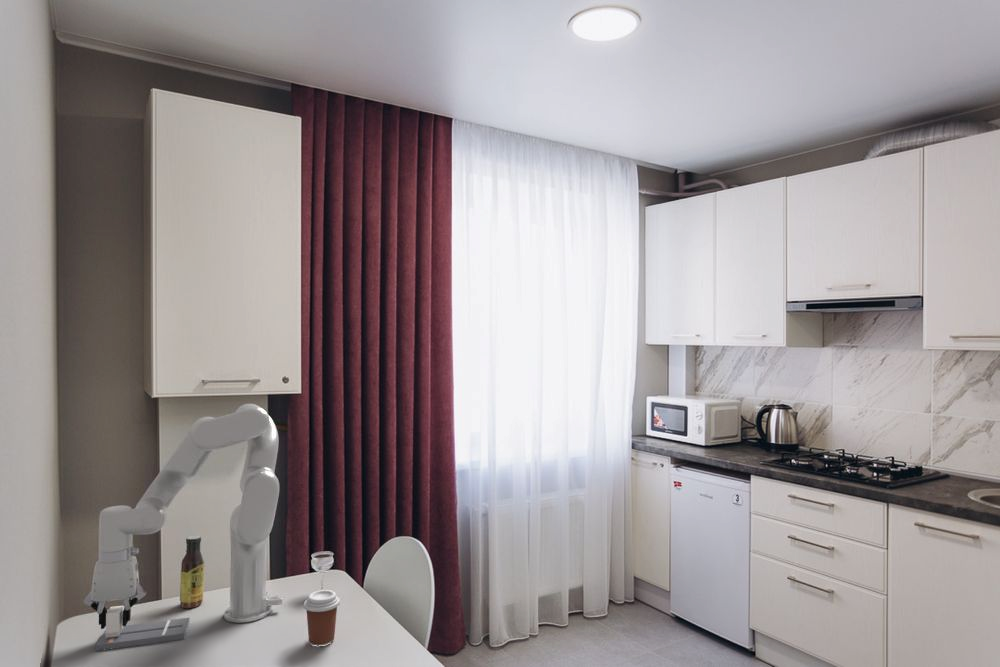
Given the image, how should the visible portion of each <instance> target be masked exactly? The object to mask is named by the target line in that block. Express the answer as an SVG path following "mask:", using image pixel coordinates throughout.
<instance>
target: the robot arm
mask: <svg viewBox="0 0 1000 667" xmlns="http://www.w3.org/2000/svg"><path fill="white" fill-rule="evenodd" d="M278 432H279V431H278V429H277V426H276V424H275V422H274V420H273V418H272V417H271V416H270V415H269V414H268V413H267V411H266V410H265V409H264V408H262V407H261V406H259V405H257V404H254V403H245V404H242V405H240V406H239V407H238V408H237V409H236V410H235V411H234V412H233V413H229V414H226V415H222V416H217V417H213V416H204V417H203V416H202V417H200V418H198V419H197V420H196V421H195V422H194V423H193V424H192V425H191V426H190V428H189V430H188V432H187V433H185V436H184V437H183V438H182V440H181V442H180V443H179V444H178V445H177V447H176V449H175V450H174V452H173V453H172V455H171V456H170V457H169V459H168V461H167V462H166V463H165V464H164V466H163V467H162V468H161V470H160V471H159V473H158V474H157V476H156V477H155V478H154V480H153V481H152V482H151V483H150V485H149V486H148V487H147V489H146V491H145V492H144V494H143V495H142V496H141V498H140V499H139V501H138V502H137V503H136V506H135V508H132V507H131V506H129V505H122V504H121V505H114V506H113V505H112V506H109V507H106V508H103V509H102V510H101V511H100V513H99V522H98V523H99V525H98V560H97V561H96V562H95V566H94V570H93V575H92V583H91V589H90V591H89V592H88V594H87V596H86V597H85V598H84V599H83V601H82V603H83V604H84V605H87V606H89V607H91V608H92V609H93V610H95V611H96V613H97V614H98V625H99V626H100V629H101V630H104V629H106V613H107V612H108V609H107V608H106V605H107V602H111V601H119V600H120V601H121V600H122V602H123V605H124V610H123V616H122V626H127V625H128V622H130V620H131V615H132V614H131V613H132V610H131V608H132V607H133V606H134V605H135V604H136V603H138V602H139V601H140V600H141V599H143V598H144V597H145V596H146V594H147V592H146V590H145V589H144V588H143V587H142V586H141V585H140V578H139V568H138V567H139V566H138V560H137V557H136V554H139V551H140V549H139V548H137V547H134V544H133V541H134V540H133V539H134V538H133V536H134V535H152V534H155V533H158V532H159V531H161V530H162V529H163V527H164V525H165V524H166V521H167V516H166V515H167V514H166V511H167V510H168V509H169V507H170V506H171V504H172V502H174V501H173V500H175V499H176V497H177V495H178V494H179V493H180V491H181V490H182V489H183V488H184V487H185V486H186V485H187V484H189V483H191V482H192V481H194V479H195V478H197V476H198V475H199V473H200V471H201V470H202V469H203V467H204V465H205V464H206V462H207V461H208V459H209V458H210V456H211V455H212V454H213V452H214V451H217V450H220V449H224V448H227V447H231V446H234V445H237V444H240V443H244V442H247V447H246V453H245V459H244V464H243V469H242V473H241V476H240V480H239V488H240V491H241V493H242V496H241V502H240V503H239V505H237V506H236V507H235V508H234V510H233V511H232V513H231V514H230V515H231V516H230V518H229V532H230V533H229V534H230V568H229V569H230V575H229V576H230V577H229V578H230V582H229V584H230V585H229V587H230V589H229V607H228V608H226V609H225V610H224V612H223V618H224V620H226V621H227V622H230V623H238V624H240V623H242V624H243V623H251V622H254V621H258V620H261V619H264V618H265V617H267V616H268V615H269V614H270V613H271V611H272V606H281V605H283V597H279V596H278V595H273V596H270V595H268V591H267V538H268V537H269V536H270V533H271V532H272V530H273V526H274V521H275V516H276V511H277V507H278V506H277V505H278V502H279V501H278V500H279V495H280V482H279V481H280V480H279V479H278V477H277V476H276V473H275V472H276V471H275V470H276V465H277V458H278V452H279V442H280V441H279V440H280V439H279V433H278ZM136 594H137V595H136Z"/></svg>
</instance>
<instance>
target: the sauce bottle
mask: <svg viewBox="0 0 1000 667" xmlns="http://www.w3.org/2000/svg"><path fill="white" fill-rule="evenodd" d="M185 538H186V539H185V542H186V543H185V544H186V550H185V553H186V554H185V555H184V557H183V558H182V559H181V567H180V582H179V583H180V585H179V587H180V589H179V594H180V595H179V601H180V604H179V606H180V607H181V608H183V609H192V608H196V607H199V606H201V605H202V603H203V600H204V589H205V588H204V586H205V585H204V584H205V583H204V582H205V562H204V559H203V555H202V552H201V542H202V536H201V535H191V536H190V535H189V536H186V537H185Z"/></svg>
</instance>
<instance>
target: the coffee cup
mask: <svg viewBox="0 0 1000 667" xmlns="http://www.w3.org/2000/svg"><path fill="white" fill-rule="evenodd" d="M340 601H341V598H340V597H338V596H337V592H335V590H330V589H323V590H320V589H319V590H316V591H313V592H311V593H310V594H308V597H307V599H306V600H305V601H304V603H303V608H304V609H305V610H306V620H307V621H306V622H307V632H308V633H307V634H308V644H309V643H310V644H312V645H317V646H319V645H326V644H328V643H331V642H332V641H333V640H334V641H335V634H336V621H337V611H338V610H337V609H338V607H339V606H340ZM310 644H309V645H310Z"/></svg>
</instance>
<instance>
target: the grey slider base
mask: <svg viewBox="0 0 1000 667" xmlns="http://www.w3.org/2000/svg"><path fill="white" fill-rule="evenodd" d="M190 620H191V618H190V617H183V618H175V619H168V620H167V619H165V620H159V621H151V622H150V621H149V622H144V623H137V624H136V623H135V624H126V626H124V628H123V630H122V631H121V633H120V635H119V636H116V637H109V638H105V634H106V629H105V630H104V631H103V633H102V635H101V636H100V638H99V640H98V641H97V643H96V644H95V652H98V651H97V650H102V651H105V650H104V649H109V650H112V649H111V648H116V649H121V648H120V647H123V648H128V646H130V647H137V645H138V646H143V645H151V644H157V643H165V642H171V641H180V640H179V639H181V640H185V638H184V637H186V635H185V634H187V632H186V631H188V629H187V628H189V626H188V625H190V623H191V622H190ZM189 622H190V623H189ZM118 647H119V648H118Z"/></svg>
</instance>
